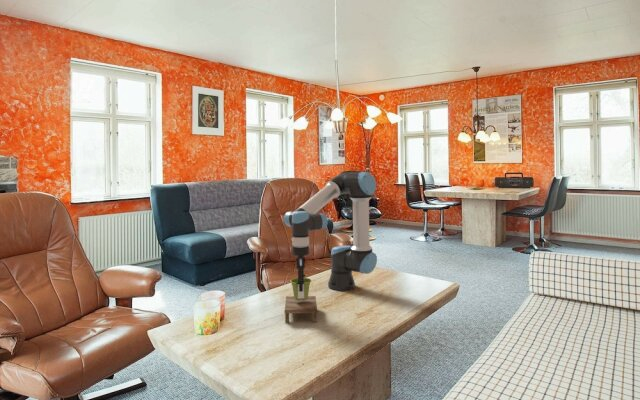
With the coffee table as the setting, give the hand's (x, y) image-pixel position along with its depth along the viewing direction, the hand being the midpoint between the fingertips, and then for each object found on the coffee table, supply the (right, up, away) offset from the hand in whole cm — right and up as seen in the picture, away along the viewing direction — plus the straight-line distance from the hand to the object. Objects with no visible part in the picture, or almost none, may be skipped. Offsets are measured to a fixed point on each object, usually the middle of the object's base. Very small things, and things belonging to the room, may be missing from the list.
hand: (300, 294), depth 182 cm
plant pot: (0, -2, 0) cm, 2 cm away
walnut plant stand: (0, -10, +1) cm, 10 cm away
